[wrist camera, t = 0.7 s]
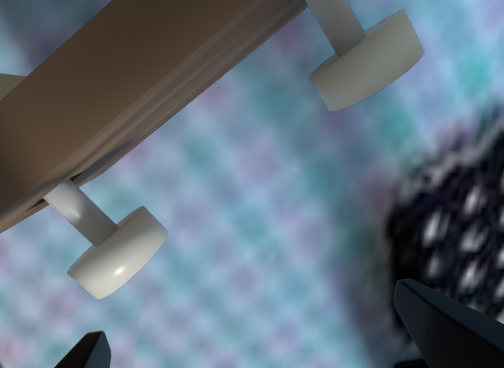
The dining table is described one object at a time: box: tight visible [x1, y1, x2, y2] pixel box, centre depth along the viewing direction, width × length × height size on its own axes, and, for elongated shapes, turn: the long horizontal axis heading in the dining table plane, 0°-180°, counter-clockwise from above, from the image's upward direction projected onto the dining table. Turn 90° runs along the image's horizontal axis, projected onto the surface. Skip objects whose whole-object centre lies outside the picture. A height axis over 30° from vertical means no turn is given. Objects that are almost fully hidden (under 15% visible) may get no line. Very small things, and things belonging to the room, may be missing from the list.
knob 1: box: [0, 73, 168, 299], centre depth 12 cm, size 8×4×4 cm, turn 37°
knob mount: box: [0, 0, 308, 233], centre depth 13 cm, size 5×18×13 cm, turn 127°
